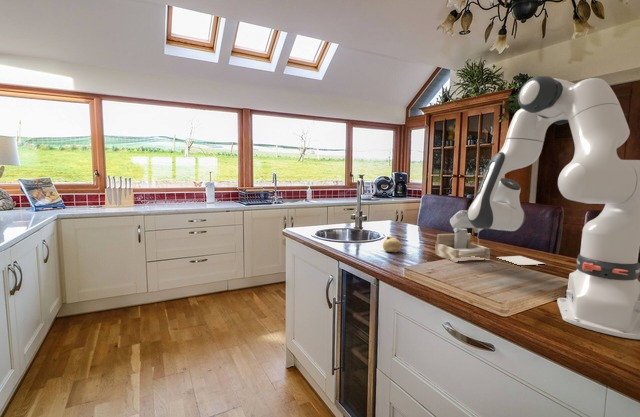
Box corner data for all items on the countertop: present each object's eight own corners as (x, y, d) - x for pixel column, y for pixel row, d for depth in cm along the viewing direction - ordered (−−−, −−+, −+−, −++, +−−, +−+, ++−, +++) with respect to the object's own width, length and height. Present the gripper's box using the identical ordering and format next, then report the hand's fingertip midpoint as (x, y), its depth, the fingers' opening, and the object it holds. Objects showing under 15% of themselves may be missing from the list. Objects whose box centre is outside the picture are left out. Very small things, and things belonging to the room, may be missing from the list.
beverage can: (451, 256, 140) (453, 228, 139) (456, 254, 144) (457, 227, 142) (463, 258, 137) (465, 230, 136) (467, 256, 140) (469, 228, 139)
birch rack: (489, 260, 134) (491, 239, 133) (455, 262, 131) (456, 240, 130) (466, 252, 148) (467, 232, 147) (435, 254, 144) (436, 233, 143)
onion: (394, 249, 152) (395, 234, 152) (404, 253, 145) (405, 237, 144) (379, 250, 150) (380, 235, 149) (388, 254, 142) (389, 238, 142)
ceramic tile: (545, 264, 129) (545, 263, 129) (519, 266, 126) (519, 265, 126) (520, 257, 141) (520, 255, 141) (496, 258, 138) (496, 257, 138)
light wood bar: (484, 260, 134) (485, 249, 134) (458, 262, 131) (459, 251, 131) (477, 258, 138) (478, 247, 138) (451, 259, 135) (452, 248, 135)
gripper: (464, 217, 121) (446, 237, 132) (510, 217, 126) (489, 237, 137) (457, 204, 125) (440, 224, 136) (503, 204, 130) (483, 225, 140)
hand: (465, 231), depth 136 cm, fingers open, 8 cm apart
